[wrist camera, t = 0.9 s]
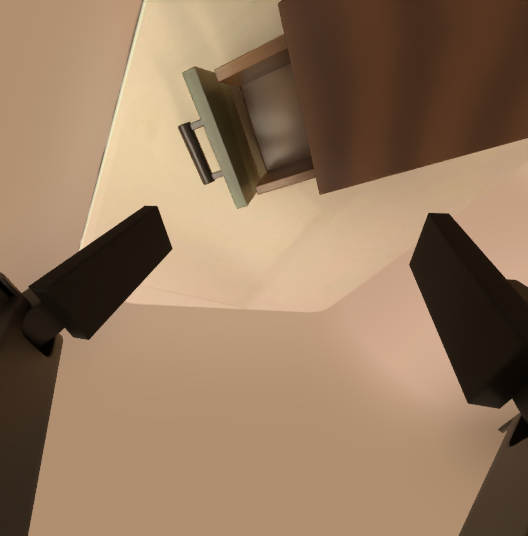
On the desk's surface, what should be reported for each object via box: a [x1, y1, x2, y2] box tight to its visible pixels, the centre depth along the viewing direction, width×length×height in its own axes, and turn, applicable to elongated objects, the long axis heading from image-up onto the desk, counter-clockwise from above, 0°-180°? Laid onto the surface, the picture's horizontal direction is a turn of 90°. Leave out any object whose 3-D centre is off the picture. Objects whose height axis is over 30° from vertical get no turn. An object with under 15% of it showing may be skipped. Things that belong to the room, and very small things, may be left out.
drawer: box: [178, 34, 316, 209], centre depth 23 cm, size 18×11×8 cm, turn 109°
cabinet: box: [278, 0, 528, 195], centre depth 20 cm, size 15×13×10 cm
